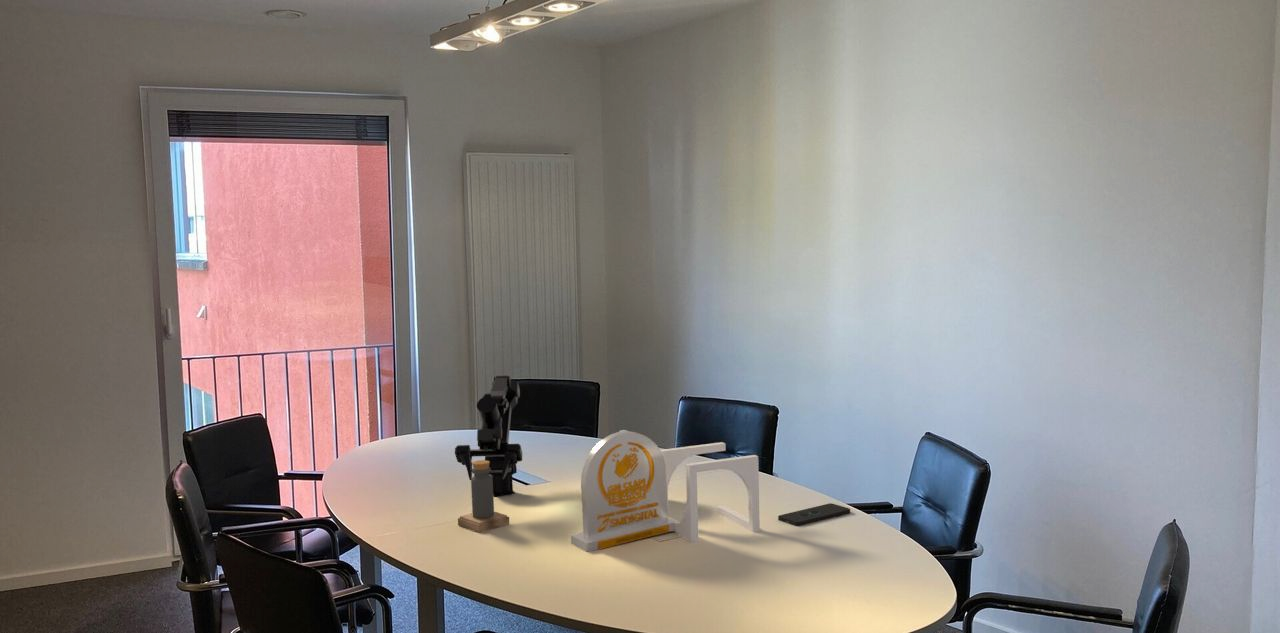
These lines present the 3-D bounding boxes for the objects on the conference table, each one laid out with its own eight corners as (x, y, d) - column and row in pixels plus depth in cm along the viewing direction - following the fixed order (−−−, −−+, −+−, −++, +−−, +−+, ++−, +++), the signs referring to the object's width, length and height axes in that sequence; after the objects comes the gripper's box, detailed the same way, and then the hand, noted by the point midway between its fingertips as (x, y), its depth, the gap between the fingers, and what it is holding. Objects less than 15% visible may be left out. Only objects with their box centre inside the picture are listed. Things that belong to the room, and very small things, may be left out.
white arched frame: (658, 522, 272) (656, 450, 270) (723, 512, 280) (722, 442, 278) (691, 542, 254) (689, 465, 252) (759, 531, 262) (758, 456, 260)
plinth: (487, 517, 281) (487, 508, 281) (509, 524, 274) (508, 515, 274) (458, 525, 275) (457, 516, 274) (479, 532, 267) (478, 523, 267)
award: (587, 552, 248) (582, 443, 246) (571, 543, 256) (566, 437, 253) (680, 530, 263) (676, 427, 260) (662, 522, 270) (658, 422, 268)
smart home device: (776, 515, 271) (830, 502, 282) (776, 521, 271) (830, 508, 282) (797, 522, 264) (851, 508, 275) (797, 528, 264) (851, 514, 275)
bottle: (494, 517, 272) (492, 463, 271) (473, 519, 271) (470, 465, 270) (493, 511, 278) (491, 459, 276) (472, 513, 277) (469, 460, 275)
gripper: (454, 417, 285) (448, 465, 275) (519, 416, 285) (515, 463, 275) (460, 438, 293) (455, 485, 284) (524, 437, 293) (520, 483, 283)
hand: (486, 479), depth 281 cm, fingers open, 9 cm apart
